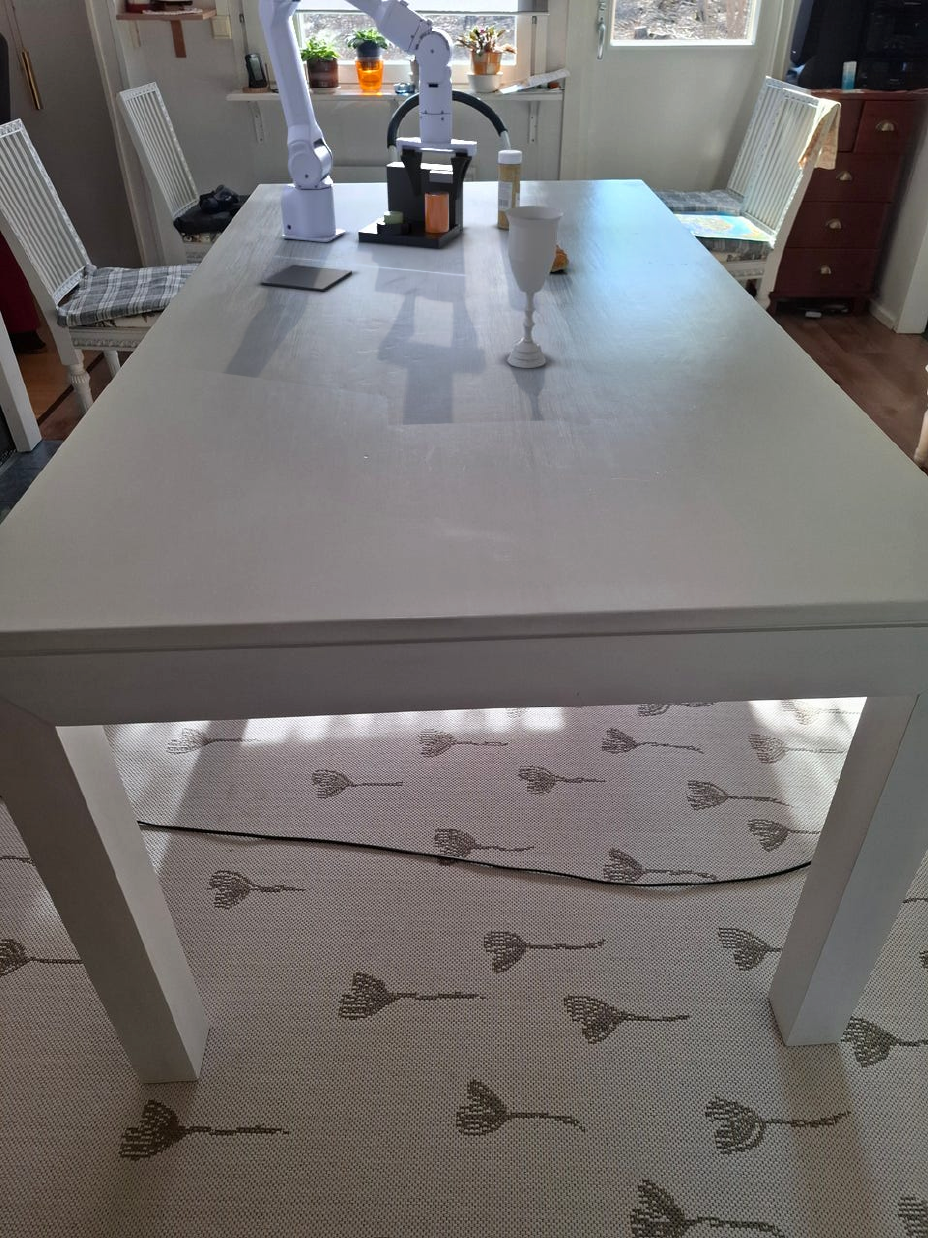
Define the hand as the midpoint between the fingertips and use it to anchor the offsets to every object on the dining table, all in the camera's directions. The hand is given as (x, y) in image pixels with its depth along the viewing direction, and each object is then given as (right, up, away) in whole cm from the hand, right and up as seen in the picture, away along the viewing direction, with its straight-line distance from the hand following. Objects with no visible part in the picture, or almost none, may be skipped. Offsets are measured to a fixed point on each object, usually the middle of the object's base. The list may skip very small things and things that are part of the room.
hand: (436, 197), depth 159 cm
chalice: (+13, -44, -45) cm, 64 cm away
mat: (-21, -21, -16) cm, 34 cm away
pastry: (+19, -16, -9) cm, 27 cm away
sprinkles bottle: (+14, 0, +14) cm, 19 cm away
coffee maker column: (-3, -1, +12) cm, 12 cm away
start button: (-8, -4, +2) cm, 9 cm away
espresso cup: (0, -5, +3) cm, 6 cm away
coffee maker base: (-5, -5, +6) cm, 9 cm away
